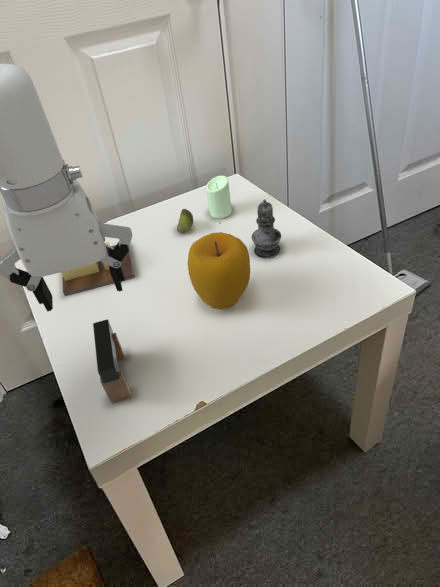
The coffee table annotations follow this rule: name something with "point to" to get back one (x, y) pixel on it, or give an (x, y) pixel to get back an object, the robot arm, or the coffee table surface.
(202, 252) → the apple
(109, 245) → the butter slice
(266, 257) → the black chess piece
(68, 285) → the butter board
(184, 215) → the lime
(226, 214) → the candle
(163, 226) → the coffee table surface
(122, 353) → the brown block
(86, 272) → the butter block
